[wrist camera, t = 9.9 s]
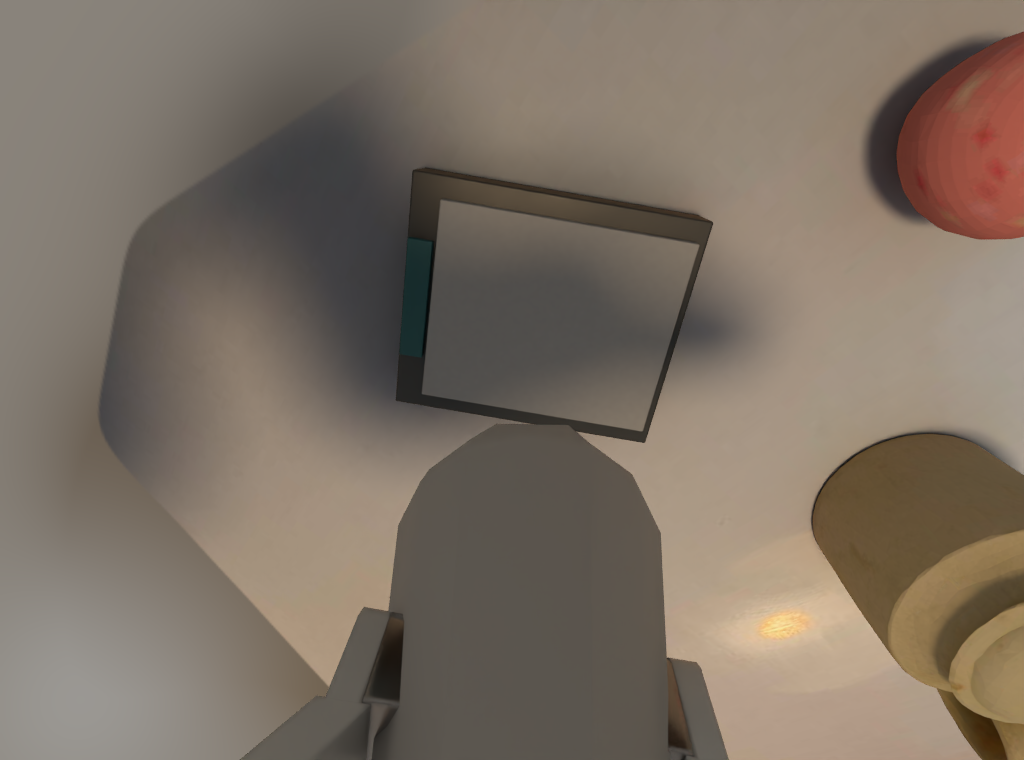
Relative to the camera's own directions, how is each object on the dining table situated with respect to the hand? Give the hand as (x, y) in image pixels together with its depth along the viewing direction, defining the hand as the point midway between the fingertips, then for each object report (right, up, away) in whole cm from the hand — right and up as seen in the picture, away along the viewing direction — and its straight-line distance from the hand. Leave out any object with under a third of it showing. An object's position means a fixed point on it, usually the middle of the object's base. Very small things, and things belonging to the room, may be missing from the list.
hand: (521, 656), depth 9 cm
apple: (+20, +16, +15) cm, 30 cm away
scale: (+1, +9, +19) cm, 21 cm away
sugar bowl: (+25, -4, +24) cm, 35 cm away
